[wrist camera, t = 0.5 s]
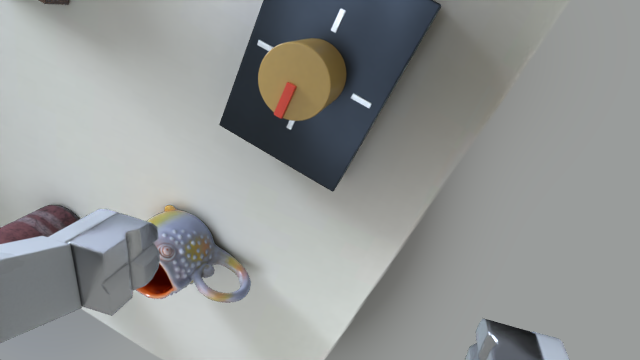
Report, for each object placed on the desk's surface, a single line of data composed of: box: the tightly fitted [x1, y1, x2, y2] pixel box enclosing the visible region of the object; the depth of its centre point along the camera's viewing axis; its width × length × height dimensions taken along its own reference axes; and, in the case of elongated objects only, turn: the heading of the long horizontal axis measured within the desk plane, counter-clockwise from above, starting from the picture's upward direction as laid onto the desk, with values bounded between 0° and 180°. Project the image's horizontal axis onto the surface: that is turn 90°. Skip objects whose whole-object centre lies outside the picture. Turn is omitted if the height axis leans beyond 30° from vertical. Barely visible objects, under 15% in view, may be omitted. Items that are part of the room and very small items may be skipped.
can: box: [0, 205, 80, 244], centre depth 37 cm, size 6×6×14 cm
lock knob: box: [258, 38, 346, 121], centre depth 23 cm, size 4×4×4 cm
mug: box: [135, 205, 251, 303], centre depth 35 cm, size 12×7×7 cm, turn 70°
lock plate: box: [220, 0, 441, 191], centre depth 26 cm, size 14×10×3 cm
